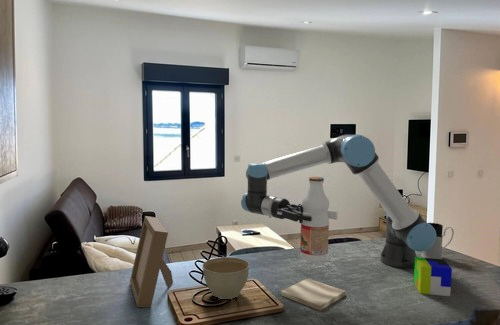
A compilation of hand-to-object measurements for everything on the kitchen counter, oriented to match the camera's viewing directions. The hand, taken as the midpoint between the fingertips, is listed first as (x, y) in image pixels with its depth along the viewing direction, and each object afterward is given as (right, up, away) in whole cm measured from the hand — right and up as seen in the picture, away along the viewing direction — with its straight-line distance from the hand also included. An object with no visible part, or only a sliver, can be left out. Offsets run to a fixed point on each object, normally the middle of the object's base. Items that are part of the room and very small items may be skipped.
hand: (329, 217), depth 127 cm
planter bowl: (-35, -28, +6) cm, 45 cm away
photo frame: (-59, -27, +7) cm, 66 cm away
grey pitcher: (+60, -25, +49) cm, 81 cm away
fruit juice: (-4, -15, +5) cm, 16 cm away
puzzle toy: (+40, -28, +13) cm, 51 cm away
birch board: (-4, -28, +6) cm, 29 cm away
